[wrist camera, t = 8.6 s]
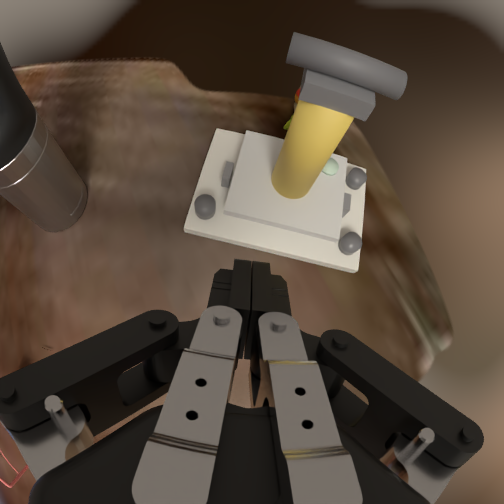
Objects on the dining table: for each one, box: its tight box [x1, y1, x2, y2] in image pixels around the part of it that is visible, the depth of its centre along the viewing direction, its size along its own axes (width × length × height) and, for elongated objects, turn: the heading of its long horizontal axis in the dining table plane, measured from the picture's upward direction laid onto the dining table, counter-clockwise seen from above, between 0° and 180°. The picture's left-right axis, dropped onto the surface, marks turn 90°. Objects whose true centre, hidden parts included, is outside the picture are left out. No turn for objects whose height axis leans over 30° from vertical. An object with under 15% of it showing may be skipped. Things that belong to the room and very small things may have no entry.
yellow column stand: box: [223, 32, 407, 243], centre depth 29 cm, size 14×12×22 cm
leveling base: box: [184, 128, 367, 273], centre depth 42 cm, size 23×16×4 cm
